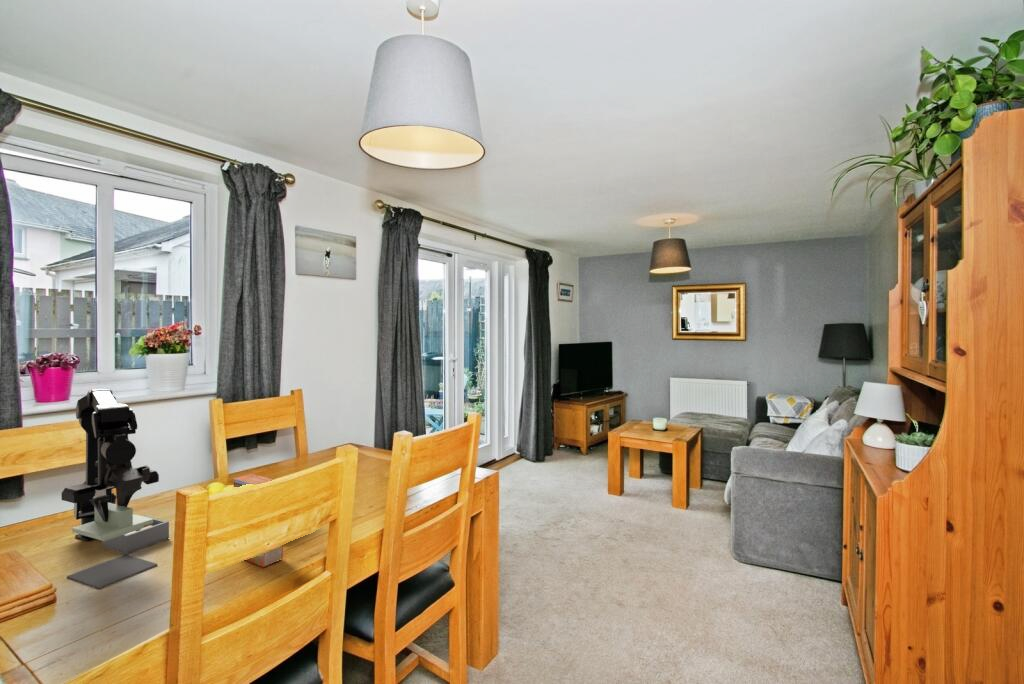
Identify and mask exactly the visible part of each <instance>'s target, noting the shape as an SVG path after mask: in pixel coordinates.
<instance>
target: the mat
mask: <svg viewBox="0 0 1024 684" xmlns="http://www.w3.org/2000/svg"><path fill="white" fill-rule="evenodd" d="M157 566H158V563H156V562H152V561H149V560H146V559H143V558H139V557H136V556H133V555H130V554H122V555H120V556H118V557H115V558H112V559H109V560H106V561H104V562H101V563H99V564H98V563H97V564H95V565H93V566H90V567H88V568H86V569H85V568H84V569H82V570H80V571H76V572H74V573H71V574H69V575H67V576H66V578H67V579H69V580H72V581H75V582H77V583H80V584H83V585H86V586H88V587H90V588H93V587H94V589H97V590H102V589H103V588H106V587H109V586H111V585H113V584H116V583H118V582H120V581H123V580H126V579H128V578H131V577H133V576H135V575H138V574H140V573H143V572H145V571H147V570H150V569H152V568H154V567H157Z"/></svg>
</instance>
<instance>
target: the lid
mask: <svg viewBox="0 0 1024 684" xmlns="http://www.w3.org/2000/svg"><path fill="white" fill-rule="evenodd" d="M94 512H95V521H93V522H90V523H86V524H83V525H81V524H80V525H76V526H73V527H72V528H71V532H72V533H75V534H77V535H78V534H81V535H84V536H88V537H91V538H95V539H96V540H99V541H101V542H102V541H106V540H109V539H112V538H115V537H118V536H121V535H124V534H127V533H130V532H133V531H136V530H139V529H142V528H144V526H145V525H148V524H151V523H153V519H151V518H147V517H143V516H144V515H138V514H134V513H133V512H134V511H133V507H128V506H127V507H125V506H121V505H117V503H115V504H113V503H108V522H104V521H103V519H102V518H101V516H100V514H99V513H98V511H97V509H96V508H95V506H94ZM95 539H94V540H95Z"/></svg>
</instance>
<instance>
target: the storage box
mask: <svg viewBox="0 0 1024 684" xmlns="http://www.w3.org/2000/svg"><path fill="white" fill-rule="evenodd" d="M142 516H143V517H147V518H151V519H153V523H151V524H148V525H145V526H144V528H142V529H139V530H136V531H133V532H130V533H127V534H124V535H121V536H118V537H115V538H112V539H109V540H106V541H102V540H101V548H104V549H107V550H110V551H114V552H118V553H121V554H122V555H125V554H127V555H130V554H132V553H135V552H137V551H141V550H143V549H146V548H149V547H150V546H151V547H152V546H154V545H156V544H159V543H163V541H168V540H169V539H170V522H169V520H164V519H160V518H157V517H152V516H149V515H145V514H144V515H142ZM168 538H169V539H168Z"/></svg>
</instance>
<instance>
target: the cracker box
mask: <svg viewBox="0 0 1024 684" xmlns="http://www.w3.org/2000/svg"><path fill="white" fill-rule="evenodd" d="M272 480H275V479H274V478H270V477H266V476H262V475H259V474H256V473H250V474H246V475H242V476H238V477H234V478H233V488H234V487H240V486H242V485H246V484H261V483H265V482H268V481H272ZM282 558H283V559H284V545H283V546H280V547H278V548H276V549H273V550H270V551H268V552H266V553H263V554H260V555H258V556H256V557H253V558H250V559H248V560H246V561H247V562H250V563H252V564H255V565H257V566H259V567H261V566H262V567H261V568H266V567H268V566H270V565H269V564H271V565H273V564H275V563H274V562H276V561H277V560H280V559H282ZM272 563H273V564H272ZM276 563H277V562H276ZM267 565H268V566H267ZM265 566H266V567H265Z"/></svg>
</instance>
